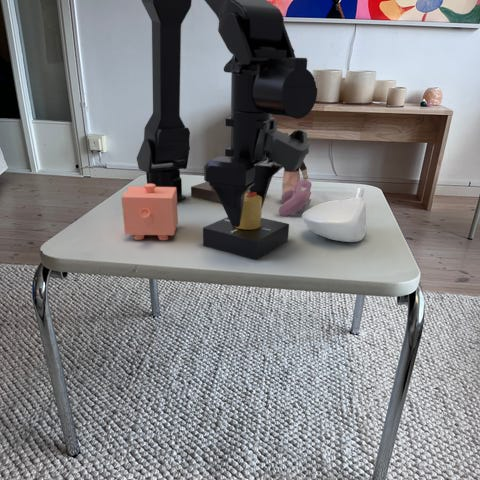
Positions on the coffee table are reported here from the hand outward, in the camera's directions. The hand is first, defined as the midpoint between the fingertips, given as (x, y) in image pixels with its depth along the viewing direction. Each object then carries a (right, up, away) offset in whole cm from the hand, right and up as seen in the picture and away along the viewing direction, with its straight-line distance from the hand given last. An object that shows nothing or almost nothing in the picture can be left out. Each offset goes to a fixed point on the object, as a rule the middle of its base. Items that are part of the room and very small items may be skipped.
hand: (247, 217), depth 75 cm
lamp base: (-4, +10, +26) cm, 28 cm away
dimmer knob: (0, -1, +1) cm, 1 cm away
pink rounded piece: (+10, +5, +19) cm, 22 cm away
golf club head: (+15, -2, +7) cm, 16 cm away
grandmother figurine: (+9, +8, +23) cm, 26 cm away
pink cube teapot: (-16, -2, +5) cm, 17 cm away
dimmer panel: (0, -4, +2) cm, 4 cm away
